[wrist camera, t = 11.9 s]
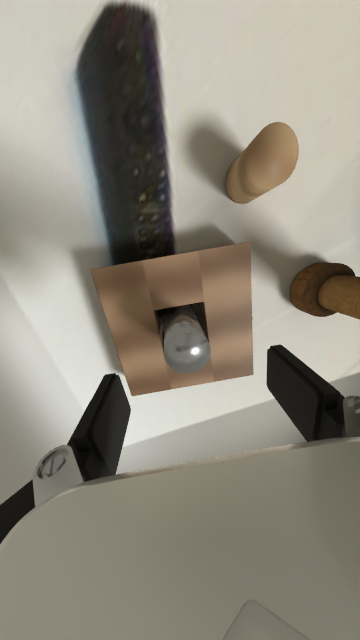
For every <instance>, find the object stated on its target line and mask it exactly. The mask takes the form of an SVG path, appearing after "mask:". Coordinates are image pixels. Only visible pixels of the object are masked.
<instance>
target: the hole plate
mask: <svg viewBox="0 0 360 640" xmlns="http://www.w3.org/2000/svg"><path fill="white" fill-rule="evenodd" d="M91 273H92V276H93V279H94V282H95V285H96V288H97V291H98V294H99V298H100V301H101V304H102V307H103V310H104V313H105V316H106V319H107V322H108V325H109V328H110V331H111V334H112V337H113V340H114V343H115V346H116V349H117V353H118V356H119V359H120V362H121V365H122V368H123V371H124V374H125V377H126V380H127V383H128V386H129V389H130V392H131V395H132V396H136V395H142V394H147V393H153V392H159V391H164V390H170V389H176V388H181V387H187V386H192V385H198V384H204V383H209V382H215V381H221V380H226V379H232V378H238V377H243V376H249V375H253V340H252V301H251V262H250V242H245V243H239V244H234V245H228V246H222V247H217V248H211V249H205V250H200V251H194V252H188V253H182V254H177V255H171V256H165V257H160V258H154V259H148V260H142V261H137V262H131V263H125V264H120V265H114V266H108V267H102V268H97V269H91ZM198 302H200V307H201V314H202V322H203V330H204V334H205V336H206V338H207V340H208V342H209V344H210V348H211V355H210V358H209V361H208V362H207V364H206V365H205V366H204V367H203V368H201V369H200V370H198V371H196V372H193V373H180V372H177V371H175V370H173V369H171V368H170V367H169V366H168V365H167V363H166V361H165V359H164V338H163V333H162V329H161V324H160V320H159V315H158V310H159V309H164V308H170V307H176V306H181V305H187V304H193V303H198Z"/></svg>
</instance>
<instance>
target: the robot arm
mask: <svg viewBox="0 0 360 640" xmlns="http://www.w3.org/2000/svg"><path fill="white" fill-rule="evenodd" d="M267 387H268V389H269V390H270V392H271V393H272V395H273V396H274V397H275V399H276V400H277V401H278V403H279V404H280V405H281V407H282V408H283V410H284V411H285V412H286V414H287V415H288V416H289V418H290V419H291V420H292V422H293V423H294V425H295V426H296V427H297V428H298V430H299V431H300V433H301V434H302V435H303V437H304V438H305V439H306V441H307V442H303V443H297V444H290V445H284V446H278V447H272V448H266V449H259V450H253V451H247V452H241V453H235V454H230V455H224V456H218V457H212V458H206V459H200V460H194V461H189V462H183V463H177V464H172V465H166V466H160V467H155V468H149V469H144V470H138V471H132V472H128V473H122V474H117V475H115V474H116V470H117V466H118V462H119V458H120V454H121V450H122V446H123V442H124V437H125V433H126V429H127V425H128V421H129V417H130V412H131V409H130V405H129V402H128V399H127V397H126V394H125V391H124V388H123V385H122V383H121V380H120V377H119V375H116V374H115V373H113V374H107V375H105V376H104V377H103V379H102V381H101V383H100V385H99V387H98V389H97V391H96V392H95V394H94V396H93V398H92V400H91V401H90V403H89V405H88V406H87V408H86V410H85V412H84V414H83V416H82V418H81V419H80V421H79V424H78V425H77V427H76V429H75V431H74V433H73V435H72V436H71V438H70V440H69V442H68V444H67V445H61V446H59V447H56V448H54V449H53V450H51V451H50V452H48V453H47V454H46V455H45V456H44V457H43V458H42V459H41V460H40V461H39V463H38V464H37V466H36V467H35V470H34V472H33V479H32V480H31V481H30V482H29V483H27V484H26V485H25V486H24V487H22V488H21V489H20V490H19V491H18V492H17V493H15V494H14V495H12V496H11V497H10V498H9V499H7V500H6V501H5V502H4V503H2V504H1V505H0V640H360V396H348V397H346V398H345V397H344V396H342V395H341V394H340V392H339V391H338V390H336V389H335V388H334V387H333V386H331V385H330V384H329V383H328V382H327V381H325V380H324V379H323V378H322V377H320V376H319V375H318V374H317V373H315V372H314V371H313V370H312V369H311V368H309V367H308V366H307V365H306V364H304V363H303V362H302V361H301V360H299V359H298V358H297V357H296V356H295V355H293V354H292V353H291V352H290V351H288V350H287V349H286V348H285V347H283V346H282V345H275V346H271V347H270V349H268V351H267Z"/></svg>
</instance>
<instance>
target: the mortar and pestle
mask: <svg viewBox="0 0 360 640" xmlns="http://www.w3.org/2000/svg"><path fill="white" fill-rule="evenodd" d="M290 297H291V301H292V303H293V304H294V306H295V307H296V308H298V309H299V310H301V311H303V312H306V313H309V314H311V315H314V316H318V317H325V316H329V315H332V314H335V313H337V312H339V313H342V314H345V315H348V316H351V317H354V318H357V319H360V277H356V276H355V274H354V272H353V270H352V269H351V268H350V267H348V266H347V265H344V264H340V263H316V264H313V265H310V266H308V267H307V268H305V269H304V270H302V271H301V272H300V273H299V274H298V275H297V277H296V278H295V280H294V282H293V284H292V287H291V292H290Z"/></svg>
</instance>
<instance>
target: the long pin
mask: <svg viewBox="0 0 360 640" xmlns="http://www.w3.org/2000/svg"><path fill="white" fill-rule="evenodd" d="M210 355H211V348H210V344H209V342H208V340H207V338H206V336H205V334H204V332H203V330H202V328H201V326H200V324H199V321H198V319H197V317H196V315H195V313H194V311H193V310H192V309H191V308H190V307H189V306H187V305H181V306H176V307H171V308H170V309H169V310H168V312H167V314H166V318H165V337H164V359H165V361H166V363H167V365H168V366H169V367H170V368H171V369H173V370H175V371H177V372H180V373H193V372H196V371H198V370H200V369H201V368H203V367H204V366H205V365H206V364H207V362H208V361H209V358H210Z"/></svg>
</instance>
